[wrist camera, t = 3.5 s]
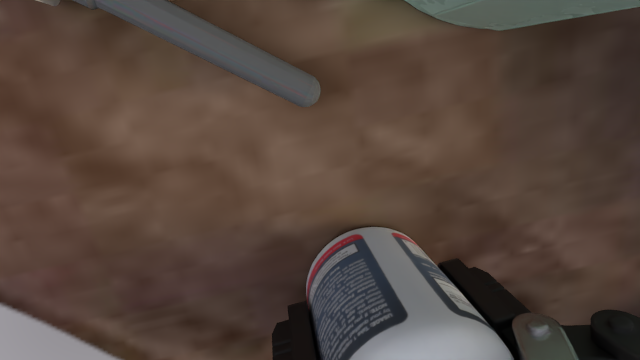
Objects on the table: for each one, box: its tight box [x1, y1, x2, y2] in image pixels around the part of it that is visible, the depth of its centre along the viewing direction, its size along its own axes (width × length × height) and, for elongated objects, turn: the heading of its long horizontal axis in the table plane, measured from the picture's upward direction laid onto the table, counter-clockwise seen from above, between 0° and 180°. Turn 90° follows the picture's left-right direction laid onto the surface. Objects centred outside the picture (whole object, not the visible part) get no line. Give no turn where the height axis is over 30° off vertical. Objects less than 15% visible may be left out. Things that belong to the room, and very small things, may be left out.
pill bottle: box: [306, 227, 514, 360], centre depth 11 cm, size 5×5×9 cm
